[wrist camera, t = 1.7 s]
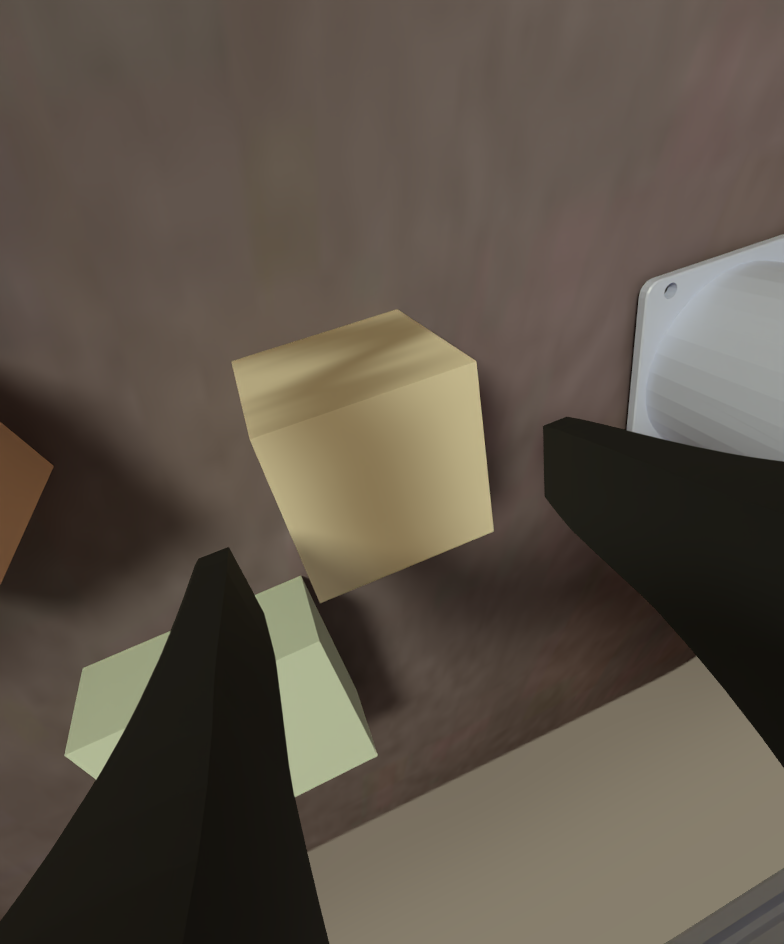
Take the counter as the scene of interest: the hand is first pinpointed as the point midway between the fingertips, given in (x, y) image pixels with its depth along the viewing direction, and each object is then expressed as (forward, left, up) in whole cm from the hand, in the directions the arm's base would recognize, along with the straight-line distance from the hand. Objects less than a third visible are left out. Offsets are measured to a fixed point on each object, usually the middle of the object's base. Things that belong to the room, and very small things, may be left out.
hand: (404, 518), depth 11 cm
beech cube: (0, 0, -6) cm, 6 cm away
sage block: (+7, +10, -6) cm, 14 cm away
